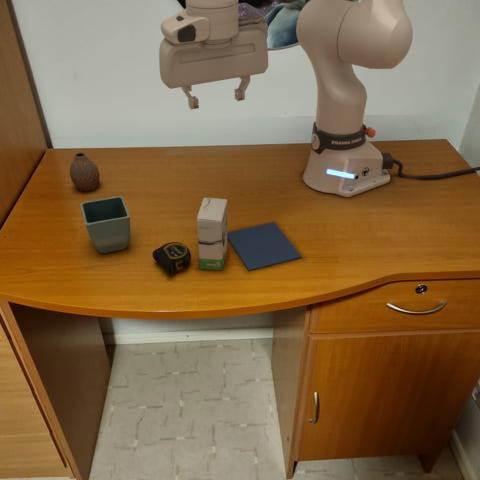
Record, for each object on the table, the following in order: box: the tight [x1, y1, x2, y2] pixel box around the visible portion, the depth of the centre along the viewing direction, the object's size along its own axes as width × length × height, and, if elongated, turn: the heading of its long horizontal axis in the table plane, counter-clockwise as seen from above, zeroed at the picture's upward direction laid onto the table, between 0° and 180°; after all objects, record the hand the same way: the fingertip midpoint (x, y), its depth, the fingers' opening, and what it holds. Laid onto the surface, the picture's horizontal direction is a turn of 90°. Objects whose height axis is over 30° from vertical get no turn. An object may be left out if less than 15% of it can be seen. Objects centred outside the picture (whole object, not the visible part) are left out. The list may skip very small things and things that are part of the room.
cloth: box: [227, 221, 303, 272], centre depth 104 cm, size 12×14×1 cm
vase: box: [69, 151, 101, 192], centre depth 118 cm, size 7×7×9 cm
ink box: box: [196, 197, 228, 271], centre depth 97 cm, size 9×5×12 cm, turn 173°
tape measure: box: [152, 241, 192, 276], centre depth 98 cm, size 7×7×4 cm
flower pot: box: [79, 195, 131, 254], centre depth 101 cm, size 9×9×9 cm
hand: (217, 103), depth 93 cm, fingers open, 8 cm apart
